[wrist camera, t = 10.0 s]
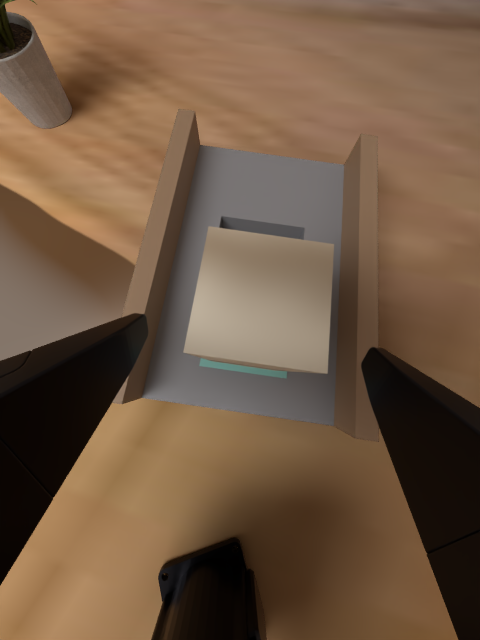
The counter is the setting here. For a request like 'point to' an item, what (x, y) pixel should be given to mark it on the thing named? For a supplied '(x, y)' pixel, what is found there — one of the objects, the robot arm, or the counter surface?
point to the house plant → (29, 73)
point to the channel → (271, 219)
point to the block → (262, 302)
